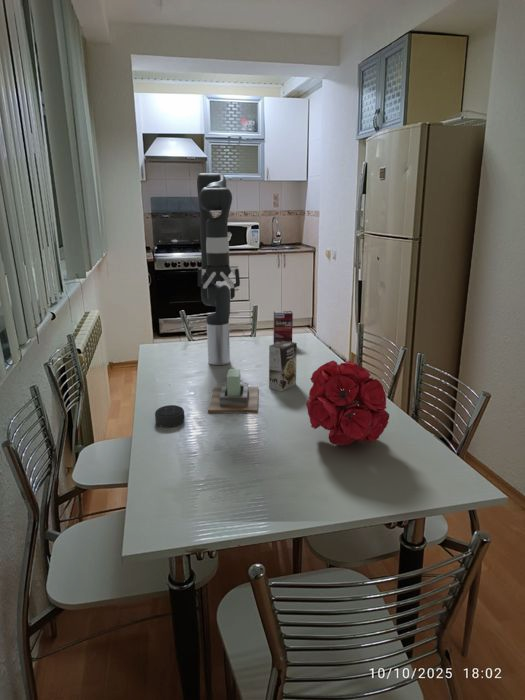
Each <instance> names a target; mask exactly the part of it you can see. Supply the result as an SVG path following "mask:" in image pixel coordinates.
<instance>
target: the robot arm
mask: <svg viewBox="0 0 525 700" xmlns="http://www.w3.org/2000/svg"><path fill="white" fill-rule="evenodd" d="M226 179H227V178H226V176H225V175H224V174H223V173H219V172H216V173H213V172H209V173H207V172H204V173H203V172H201V173H199V174H198V175H197V178H196V189H197V190H196V192H197V202H198V208H199V209H198V210H199V227H200V228H199V231H200V232H199V234H200V236H199V237H200V238H199V239H200V252H201V257H200V258H201V267H200V268H198V269H197V286H198V287H200V296H201V297H200V298H201V302H202V303H203V304H204V306H208V307H215V312H214V313H210V314H208V315H207V316H206V319H205V320H206V321H205V322H206V337H207V339H206V340H207V358H208V364H209V365H212V366H224V365H228V364H229V363H230V362H231V354H230V353H231V351H230V350H231V348H230V347H231V346H230V315H231V300H234V298H235V296H236V289H235V288H238V287H240V286H241V279H240V269H239V268H238V267H236V268H231V266H230V242H229V237H228V236H229V232H228V231H229V229H228V221H229V216H230V215H229V214H230V211H231V206H232V202H233V194H232V192H231V190H230V189H229V188H228V187H227V180H226ZM212 211H213V212H214V211H215V212H216V211H217V212H218V211H221V212H220V215H218V216H216V217H214V216H213V214H212ZM231 273H232V275H233V276H235V277H234V278H235V282H233V281H232V279H231V278H230V274H231ZM216 282H226V284H228V285H226V284H222V283H221V284H220V283H216ZM229 287H230V288H229Z"/></svg>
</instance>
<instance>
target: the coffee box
mask: <svg viewBox="0 0 525 700" xmlns="http://www.w3.org/2000/svg"><path fill="white" fill-rule="evenodd" d="M297 345H298V344H297V342H293V341H292V342H288V341H281V342H278V343H276V344H274V343H273V344H271V345H269V346H268V350H269V353H268V388H269V389H273V390H276V391H280V392H284V391H286V390H287V389H289V388H292V387H294V386H295V385H297V356H298V355H297V354H298V353H297V351H298V349H297V347H298V346H297Z"/></svg>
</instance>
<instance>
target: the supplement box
mask: <svg viewBox="0 0 525 700" xmlns="http://www.w3.org/2000/svg"><path fill="white" fill-rule="evenodd" d="M293 314H294V313H293V312H292V311H291V310H286V311H285V310H283V311H282V310H281V311H275V310H274V311H273V337H272V338H273V341H272V342H273V344H276V343H278V342H281V341H288V342H293V326H294V325H293V321H294V319H293V317H294V315H293Z"/></svg>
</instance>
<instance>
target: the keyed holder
mask: <svg viewBox="0 0 525 700" xmlns="http://www.w3.org/2000/svg"><path fill="white" fill-rule="evenodd" d="M240 385H241V395H240V396H227V383H225V384H222V386H214V387H213V390H212V394H211V398H210V400H209V404H208V408H207V413H208V414H218V413H219V414H226V413H227V414H231V413H232V414H234V413H235V414H238V413H239V414H240V413H241V414H243V413H247V412H248V413H247V414H249V413H253V414H254V413H255V414H256V413H258V411H259V409H258V407H259V386H249V384H248V383H247V384H246V383H245V384H243V383H242V384H241V383H240Z"/></svg>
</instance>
